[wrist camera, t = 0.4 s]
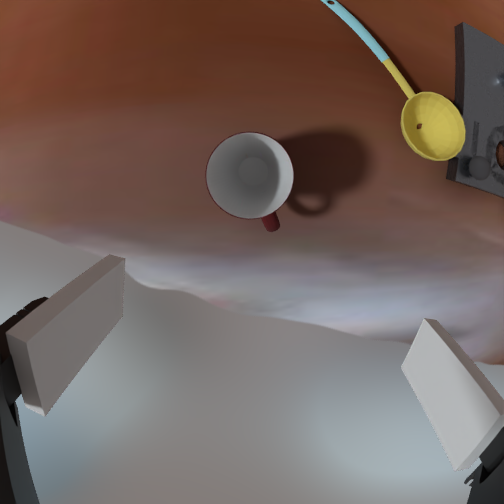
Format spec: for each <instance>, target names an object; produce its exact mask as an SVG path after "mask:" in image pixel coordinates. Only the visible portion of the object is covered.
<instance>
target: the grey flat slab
mask: <svg viewBox="0 0 504 504" xmlns="http://www.w3.org/2000/svg"><path fill="white" fill-rule="evenodd" d="M455 49H456V78H455V103H454V106H455V107H456V108H457V109H458V111H459V113H460V114H461V116H462V118H463V121H464V125H465V130H466V134H465V142H464V145H463V147H462V150H461V151H460V152H459V153H458V154H457V155H456V156H455V157H453V158H451V159H449V163H448V170H447V176H446V179H448V180H451V181H455V182H458V183H461V184H464V185H467V186H470V187H473V188H476V189H479V190H482V191H485V192H488V193H491V194H493V195H496V196H499V197H502V198H504V165H503V167H502V168H500V166H499V165H498V164H497V160H496V155H495V154H496V146H497V145H498V143H499V142H500V143H501V144H502V146H503V147H504V45H503V44H501V43H500V42H498V41H496V40H495V39H493V38H491V37H490V36H488V35H486V34H484V33H483V32H481V31H479V30H477V29H475V28H473V27H472V26H470V25H468V24H466V23H464V22H462V23H460V24H459V25H457V26H455ZM475 156H482V157H484V158H486V159H487V160H488V162H489V164H490V168H491V171H490V175H489V176H488V178H486V179H485V180H476V179H475V178H473V177H472V175H471V174H470V172H469V162H470V160H471V159H472V158H473V157H475Z"/></svg>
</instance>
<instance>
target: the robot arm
mask: <svg viewBox="0 0 504 504" xmlns="http://www.w3.org/2000/svg"><path fill="white" fill-rule="evenodd" d="M124 272H125V258H121V257H117V256H113V255H108V256H106V257H105V258H104V259H102V260H101V261H99V262H98V263H96V264H95V265H94V266H92V267H91V268H89V269H88V270H87V271H85V272H84V273H82V274H81V275H80V276H78V277H77V278H75V279H74V280H73V281H72V282H70V283H69V284H67V285H66V286H65V287H63V288H62V289H61V290H59V291H58V292H57V293H56V294H54V295H53V296H51V297H50V298H47V297H43V298H40V299H37V300H34V301H32V302H30V303H29V304H28V305H27V306H25V307H24V308H23V310H22V309H21V310H20V311H18V312H17V313H16V315H13V316H12V317H10V318H9V319H8V320H7V321H5V322H4V323H3V324H2V325H0V504H40V503H39V500H38V497H37V494H36V490H35V487H34V484H33V480H32V477H31V473H30V469H29V465H28V461H27V456H26V452H25V447H24V442H23V437H22V432H21V426H20V420H19V414H18V408H17V405H16V402H15V400H16V399H17V398H18V397H19V396H20V394H22V397H23V400H24V403H25V406H26V407H27V408H29V409H31V410H33V411H35V412H37V413H39V414H41V415H43V416H46V415H47V414H48V412H49V411H50V409H51V408H52V407H53V405H54V404H55V403H56V401H57V400H58V399H59V397H60V396H61V394H62V393H63V392H64V390H65V389H66V388H67V386H68V385H69V384H70V382H71V381H72V380H73V379H74V377H75V376H76V375H77V373H78V372H79V371H80V369H81V368H82V367H83V365H84V364H85V363H86V361H87V360H88V359H89V357H90V356H91V355H92V354H93V353H94V351H95V350H96V349H97V348H98V346H99V345H100V344H101V342H102V341H103V340H104V339H105V338H106V336H107V335H108V334H109V333H110V331H111V330H112V329H113V328H114V326H115V325H116V324H117V323H118V321H119V320H120V319H121V318H122V317H123V290H124ZM401 368H402V370H403V372H404V374H405V376H406V378H407V379H408V381H409V383H410V385H411V387H412V389H413V390H414V392H415V394H416V395H417V398H418V399H419V402H420V403H421V405H422V407H423V409H424V411H425V413H426V415H427V417H428V419H429V420H430V422H431V424H432V426H433V428H434V430H435V432H436V434H437V436H438V438H439V440H440V442H441V444H442V446H443V448H444V451H445V452H446V454H447V457H448V459H449V461H450V463H451V465H452V467H453V469H454V471H459V470H464V469H468V468H470V467H471V465H472V464H473V463H474V462H475V461H476V460H477V459H478V457H479V458H480V460H481V461H482V463H481V464H480V465H479V466H478V467H477V468H476V469H475V471H474V472H473V473H472V474H471V475H470V476H469V477H468V478H467V479H466V480H465V482H464V483H465V484H467V483H468V482H469V481H470V480H471V479H474V480H473V482H472V483H471V484H470V485H469V486H471V487H472V488H471V491H470V495H469V499H468V502H467V504H504V400H503V398H502V397H501V396H500V395H499V393H498V392H497V391H496V389H495V388H494V387H493V386H492V385H491V383H490V382H489V381H488V379H487V378H486V377H485V376H484V374H483V373H482V372H481V371H480V370H479V368H478V367H477V366H476V365H475V364H474V362H473V361H472V360H471V359H470V358H469V356H468V355H467V354H466V353H465V352H464V351H463V349H462V348H461V347H460V346H459V345H458V344H457V343H456V341H455V340H454V339H453V338H452V337H451V336H450V335H449V333H448V332H447V331H446V330H445V329H444V328H443V327H442V326H441V325H440V323H439V322H438V321H437V320H432V319H426V318H424V319H423V322H422V324H421V326H420V328H419V331H418V333H417V335H416V337H415V339H414V342H413V344H412V346H411V348H410V350H409V352H408V354H407V356H406V358H405V360H404V363H403V364H402V367H401Z"/></svg>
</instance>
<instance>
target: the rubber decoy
mask: <svg viewBox="0 0 504 504" xmlns="http://www.w3.org/2000/svg"><path fill="white" fill-rule="evenodd" d="M490 171H491V168H490V164H489V162H488V160H487V159H486V158H484V157H482V156H475V157H473V158H472V159H471V160H470V162H469V172H470V174H471V175H472V177H473V178H475V179H476V180H485V179H486V178H488V176H489V175H490Z"/></svg>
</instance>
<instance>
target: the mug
mask: <svg viewBox="0 0 504 504" xmlns="http://www.w3.org/2000/svg"><path fill="white" fill-rule="evenodd" d="M205 177H206V185H207V189H208V191H209V194H210V196H211V197H212V199H213V201H214V202H215V203H216V204H217V205H218V206H219V207H220V208H221V209H222V210H223V211H225V212H226V213H228V214H230V215H232V216H234V217H237V218H241V219H259V218H261V219H262V221H263V224H264V226H265V228H266V229H267V231H269V232H273V231H276V230H278V229H279V227H280V223H279V220H278V217H277V215H276V212H275V211H277V210H278V209H279V208H280V207H281V206H282V205H283V204H284V203H285V202H286V200H287V199H288V197H289V195H290V193H291V191H292V188H293V184H294V167H293V163H292V160H291V158H290V156H289V154H288V152H287V151H286V149H285V148H284V147H283V146H282V145H281V144H280V143H279V142H278V141H276V140H275V139H273V138H272V137H270V136H268V135H265V134H262V133H258V132H242V133H238V134H235V135H232V136H230V137H228V138H226V139H225V140H223V141H222V142H221V143H220V144H219V145H218V146H217V147H216V148H215V149H214V151H213V152H212V154H211V155H210V157H209V160H208V163H207V166H206V176H205Z"/></svg>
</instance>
